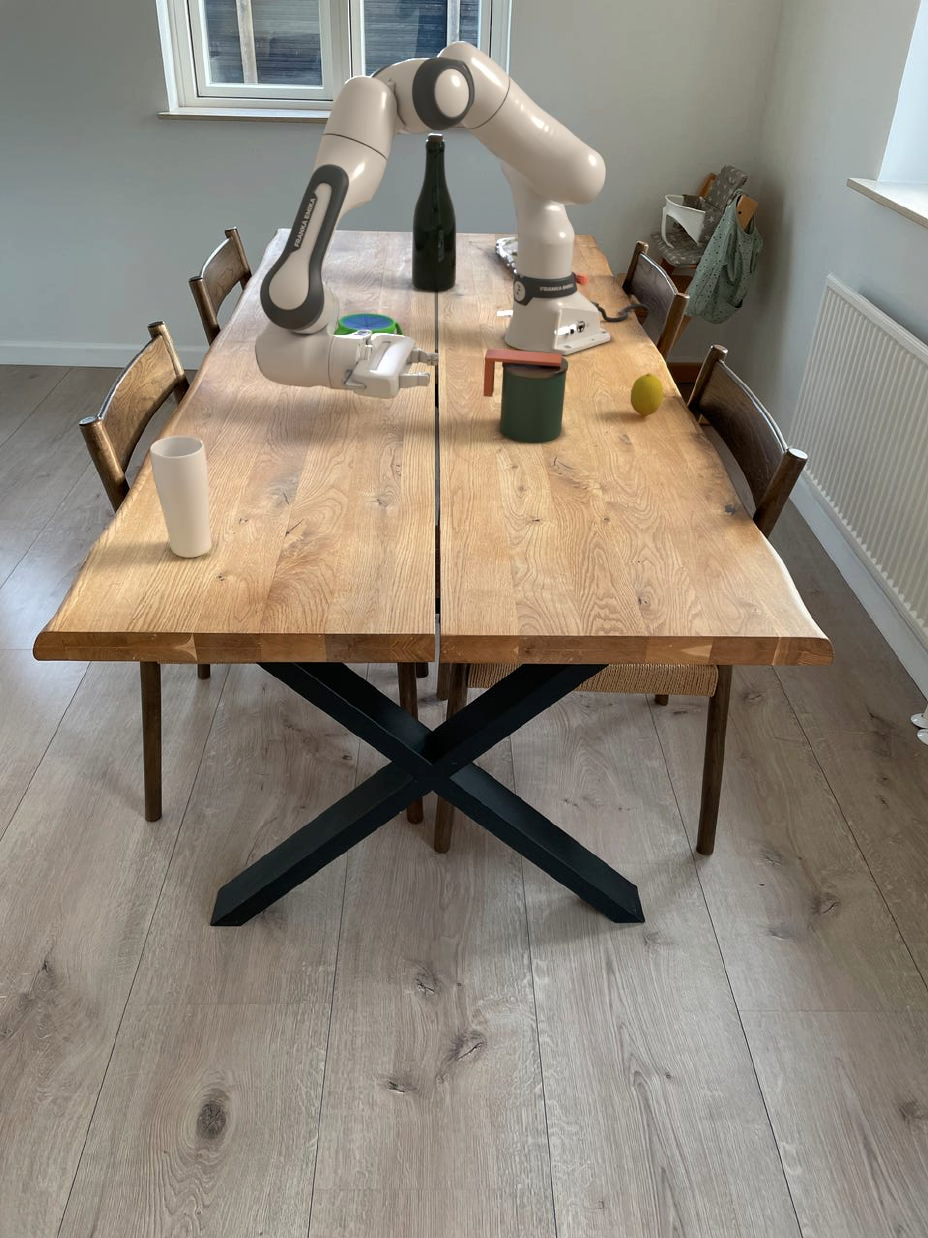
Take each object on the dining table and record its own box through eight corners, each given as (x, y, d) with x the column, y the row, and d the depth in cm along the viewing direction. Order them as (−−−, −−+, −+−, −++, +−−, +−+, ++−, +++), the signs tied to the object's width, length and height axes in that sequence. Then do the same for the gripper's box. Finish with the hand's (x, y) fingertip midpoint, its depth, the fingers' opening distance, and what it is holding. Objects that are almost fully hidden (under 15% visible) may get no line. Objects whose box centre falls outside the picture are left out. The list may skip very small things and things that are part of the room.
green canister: (495, 440, 165) (498, 370, 158) (501, 415, 174) (505, 347, 167) (560, 446, 164) (566, 375, 157) (563, 420, 173) (569, 352, 166)
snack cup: (389, 359, 196) (389, 307, 190) (417, 376, 188) (417, 322, 183) (318, 373, 188) (315, 319, 183) (344, 391, 181) (342, 336, 175)
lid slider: (482, 397, 165) (484, 357, 161) (485, 388, 168) (487, 348, 164) (557, 403, 164) (560, 362, 160) (558, 393, 167) (562, 353, 163)
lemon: (662, 413, 177) (668, 370, 172) (656, 425, 172) (663, 381, 168) (631, 408, 178) (636, 365, 174) (625, 420, 174) (630, 376, 169)
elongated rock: (524, 252, 271) (488, 254, 270) (524, 231, 268) (487, 234, 267) (554, 281, 241) (514, 284, 240) (554, 258, 238) (514, 261, 237)
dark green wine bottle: (464, 285, 239) (468, 133, 220) (439, 295, 231) (442, 139, 213) (427, 277, 243) (429, 128, 225) (403, 287, 236) (402, 134, 217)
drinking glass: (170, 537, 136) (153, 435, 127) (220, 536, 136) (207, 434, 128) (162, 562, 130) (144, 458, 122) (214, 561, 131) (200, 457, 122)
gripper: (336, 367, 156) (423, 373, 155) (364, 325, 173) (443, 331, 172) (338, 405, 160) (423, 411, 159) (365, 360, 177) (442, 366, 175)
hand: (433, 369), depth 165 cm, fingers open, 8 cm apart
